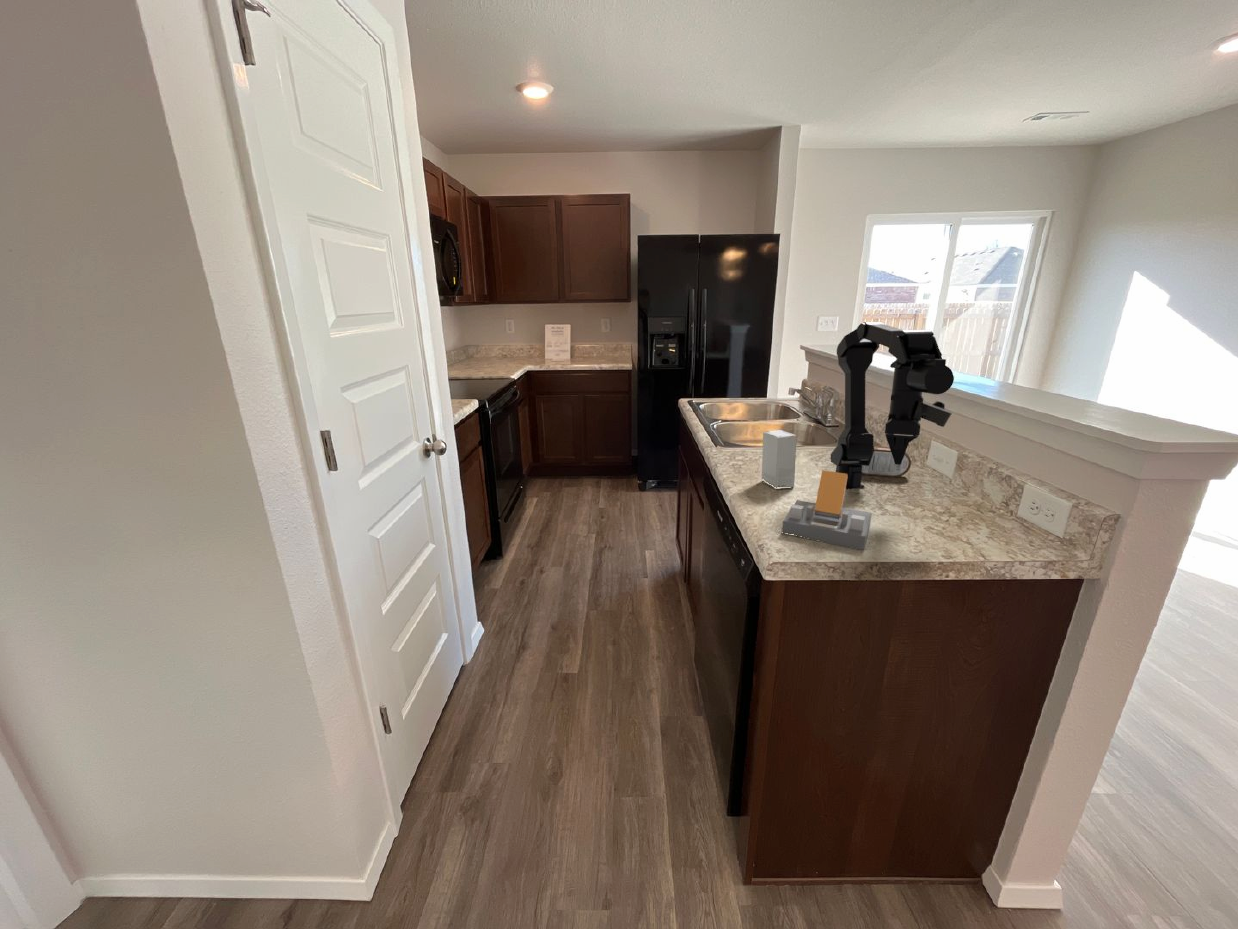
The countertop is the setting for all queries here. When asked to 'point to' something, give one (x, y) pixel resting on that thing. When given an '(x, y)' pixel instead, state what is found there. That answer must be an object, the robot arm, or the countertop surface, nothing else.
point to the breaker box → (828, 525)
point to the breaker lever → (831, 494)
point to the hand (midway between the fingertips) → (898, 460)
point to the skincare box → (779, 458)
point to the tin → (886, 464)
